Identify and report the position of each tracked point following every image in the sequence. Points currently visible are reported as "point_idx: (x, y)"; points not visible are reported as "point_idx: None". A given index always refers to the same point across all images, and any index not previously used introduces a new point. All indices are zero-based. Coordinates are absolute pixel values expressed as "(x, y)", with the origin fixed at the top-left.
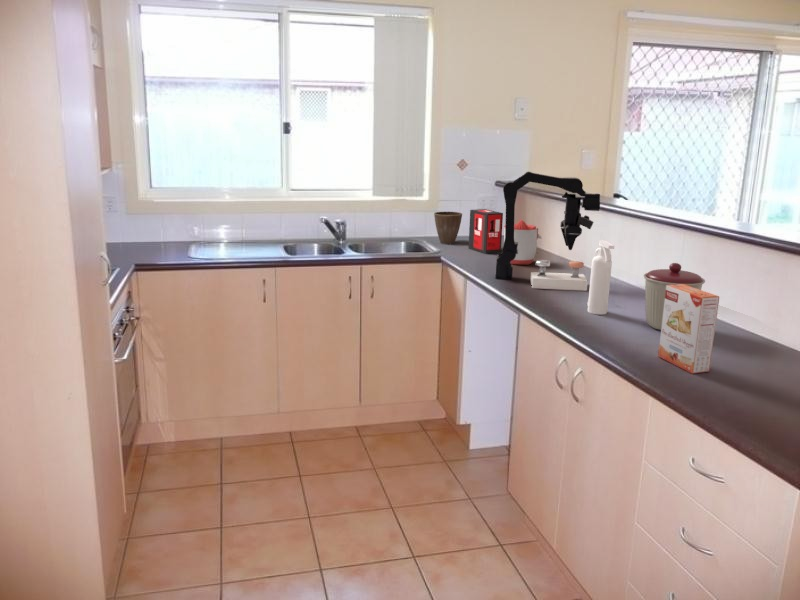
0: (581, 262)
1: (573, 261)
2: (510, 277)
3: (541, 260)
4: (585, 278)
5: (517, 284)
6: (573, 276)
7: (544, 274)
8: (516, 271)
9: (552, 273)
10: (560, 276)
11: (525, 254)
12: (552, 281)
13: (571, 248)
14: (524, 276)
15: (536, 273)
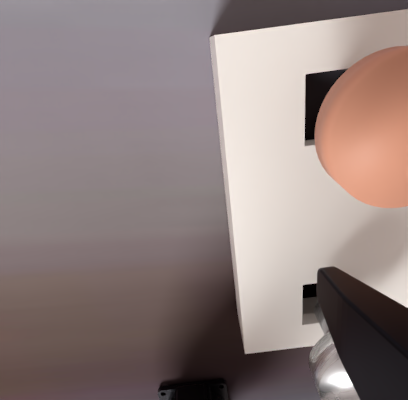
0: (402, 75)
1: (351, 168)
2: (210, 386)
3: (346, 392)
4: (392, 19)
5: (311, 349)
6: (304, 120)
7: None
8: (35, 378)
9: (256, 256)
10: (342, 207)
11: None
12: None
13: (353, 285)
14: (132, 342)
15: (279, 329)
